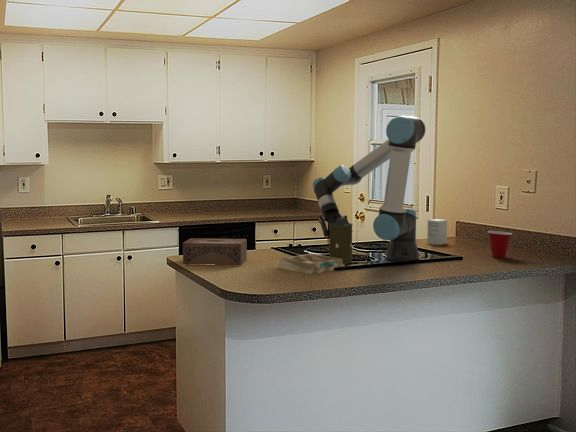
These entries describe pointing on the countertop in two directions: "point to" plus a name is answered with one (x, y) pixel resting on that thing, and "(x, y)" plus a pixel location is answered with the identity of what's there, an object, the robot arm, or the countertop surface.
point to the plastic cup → (499, 243)
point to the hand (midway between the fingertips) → (343, 247)
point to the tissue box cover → (215, 251)
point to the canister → (340, 240)
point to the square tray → (310, 263)
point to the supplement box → (437, 232)
